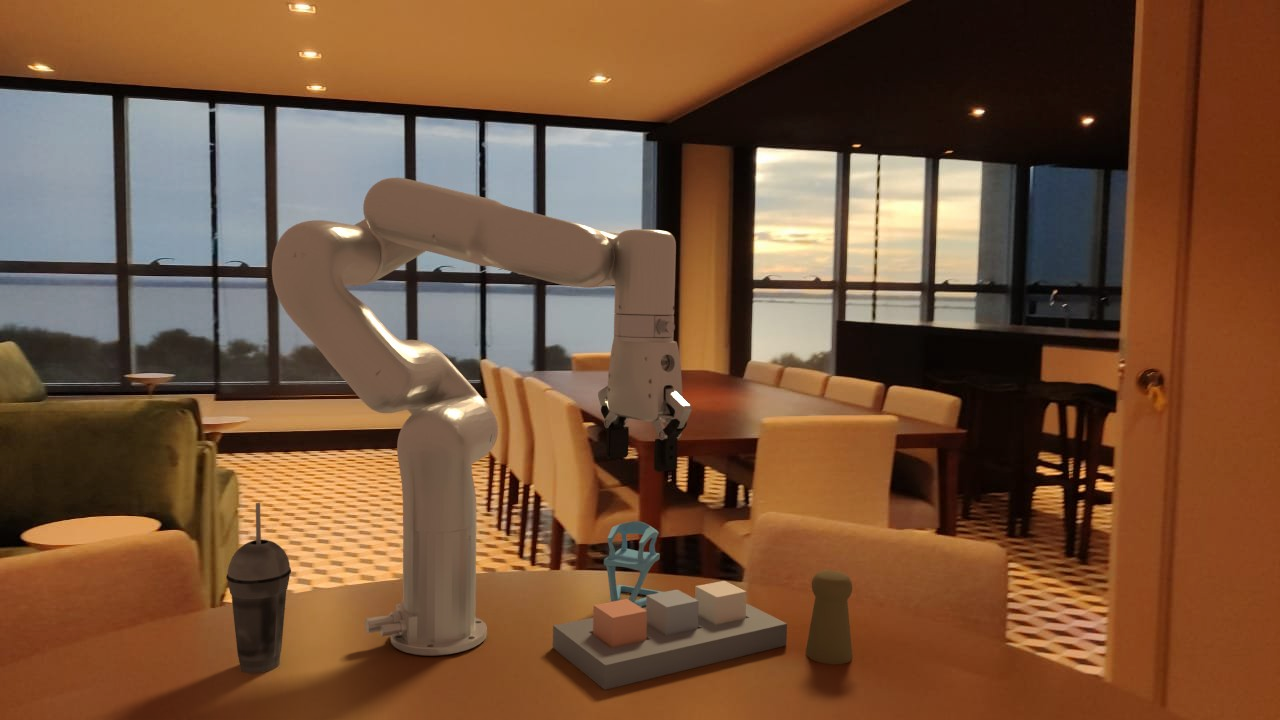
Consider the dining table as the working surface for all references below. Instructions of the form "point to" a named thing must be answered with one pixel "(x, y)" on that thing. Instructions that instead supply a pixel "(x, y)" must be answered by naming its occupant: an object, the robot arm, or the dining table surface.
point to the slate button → (672, 612)
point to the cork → (830, 619)
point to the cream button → (721, 602)
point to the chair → (631, 559)
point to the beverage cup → (259, 601)
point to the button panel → (666, 648)
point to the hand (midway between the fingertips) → (640, 463)
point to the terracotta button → (619, 623)
